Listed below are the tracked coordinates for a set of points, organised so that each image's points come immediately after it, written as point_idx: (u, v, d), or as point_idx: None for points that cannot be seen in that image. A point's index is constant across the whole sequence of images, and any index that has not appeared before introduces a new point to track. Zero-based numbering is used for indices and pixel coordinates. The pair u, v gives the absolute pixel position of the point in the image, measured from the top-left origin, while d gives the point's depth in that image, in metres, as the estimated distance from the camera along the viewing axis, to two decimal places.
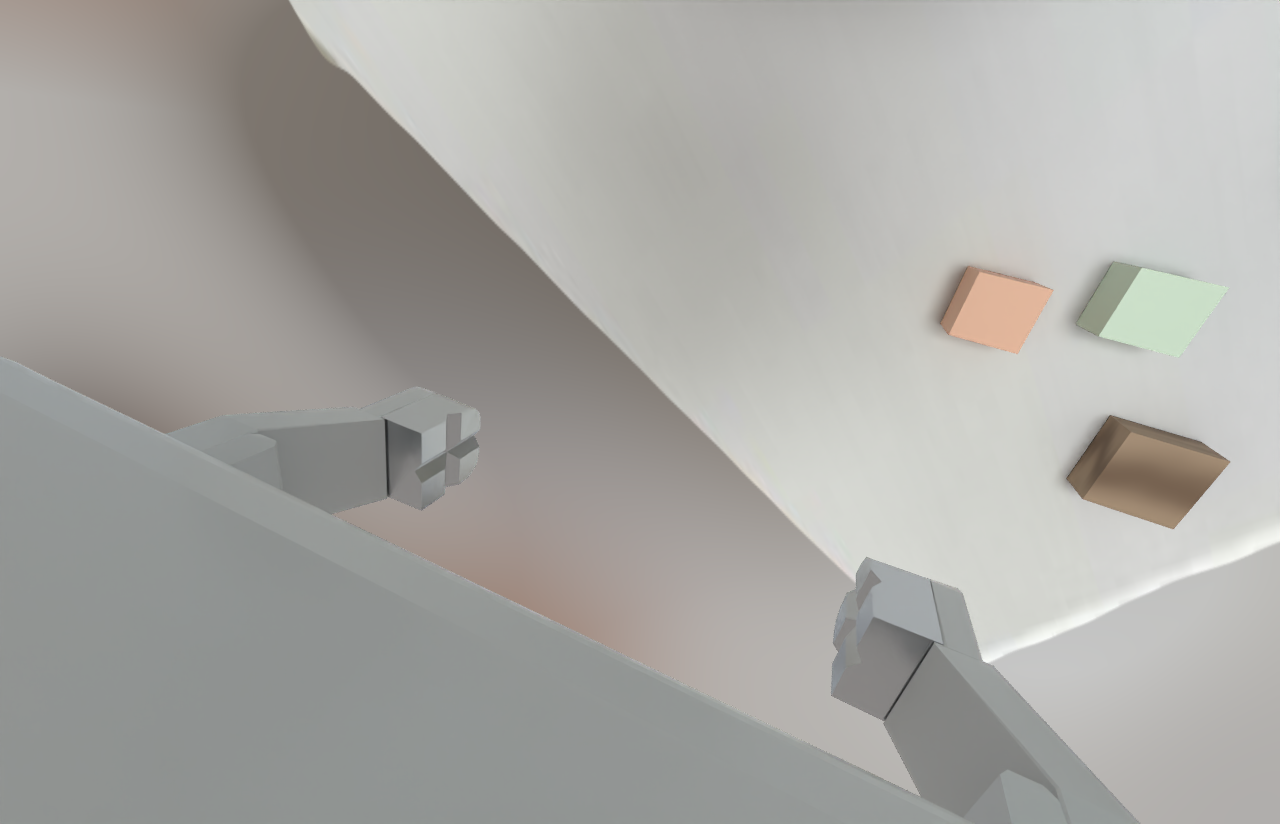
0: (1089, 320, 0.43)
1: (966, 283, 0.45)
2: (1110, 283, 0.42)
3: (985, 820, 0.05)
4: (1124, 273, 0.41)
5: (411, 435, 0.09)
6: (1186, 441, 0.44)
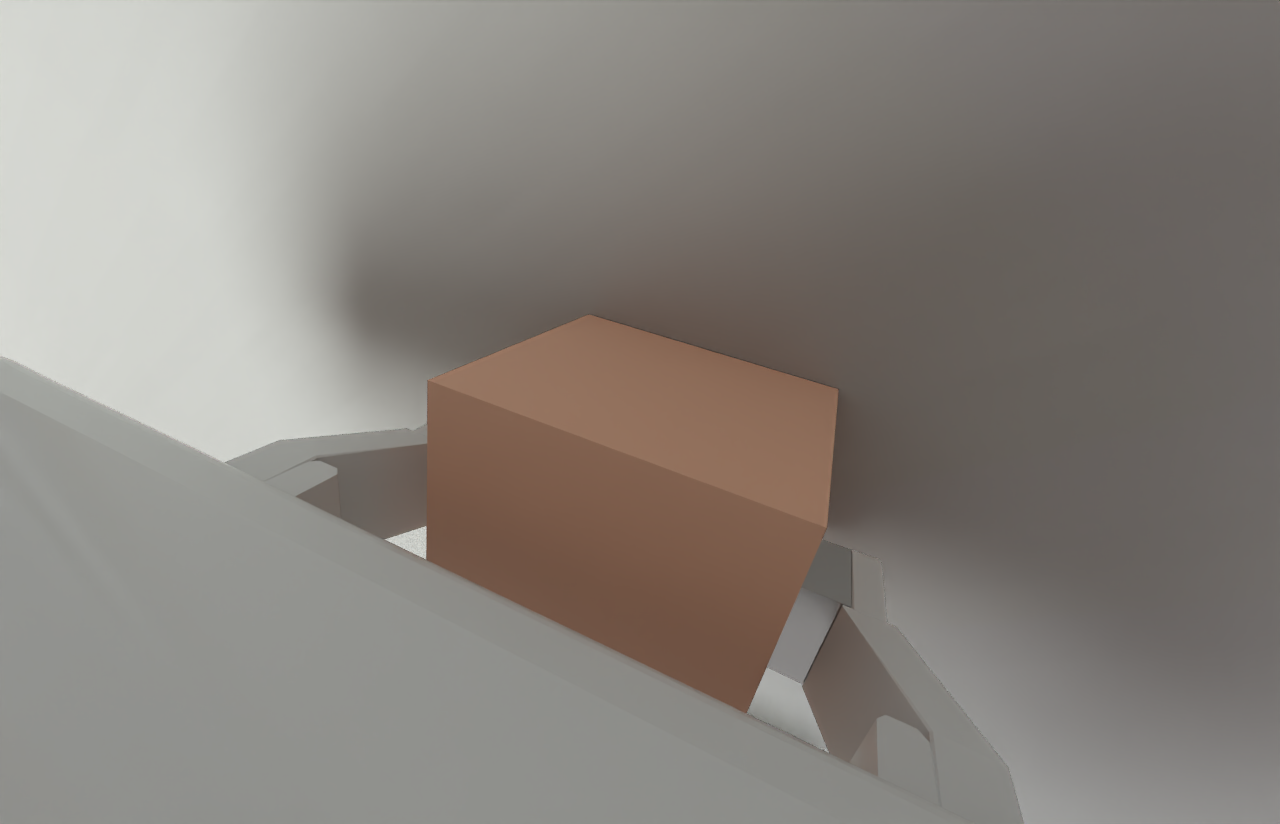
0: None
1: (752, 414, 0.08)
2: None
3: (862, 761, 0.06)
4: None
5: None
6: None
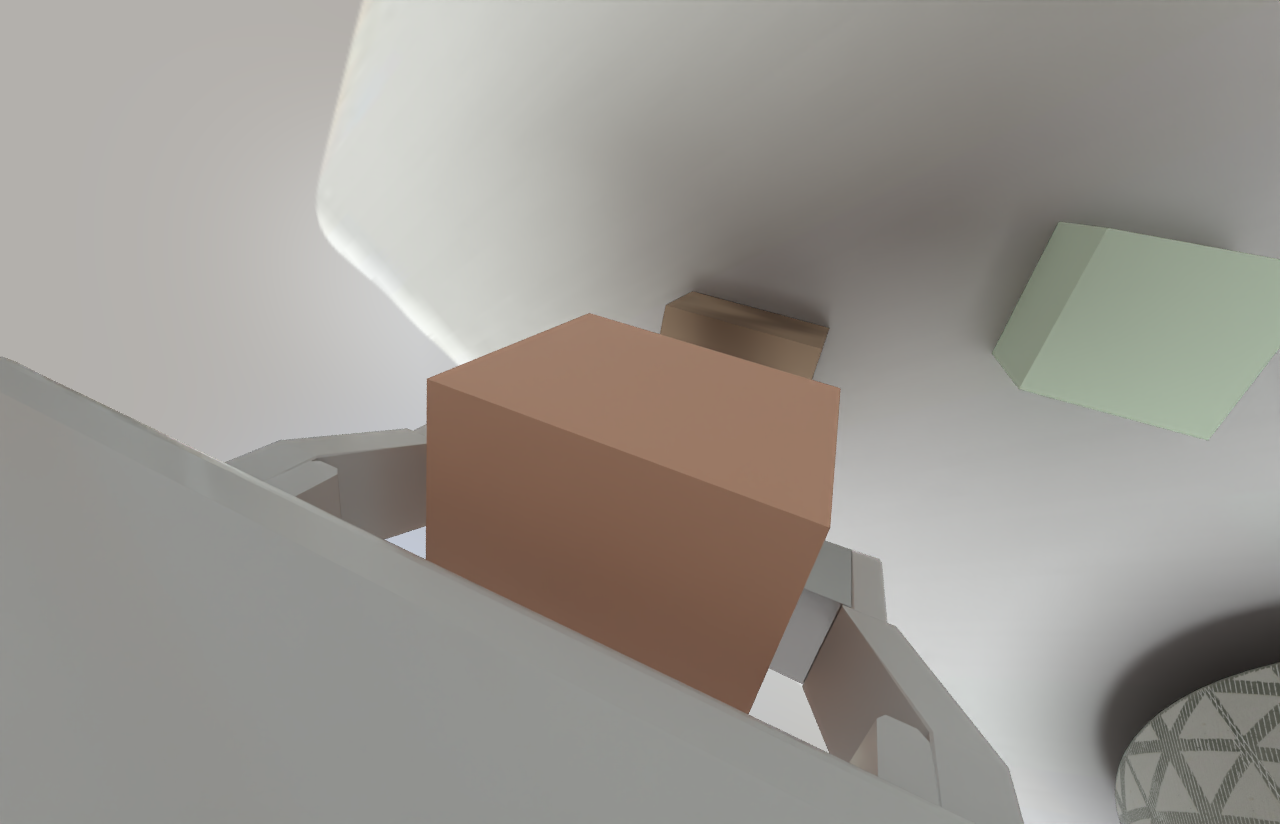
0: None
1: (753, 413, 0.08)
2: None
3: (862, 761, 0.06)
4: None
5: None
6: None
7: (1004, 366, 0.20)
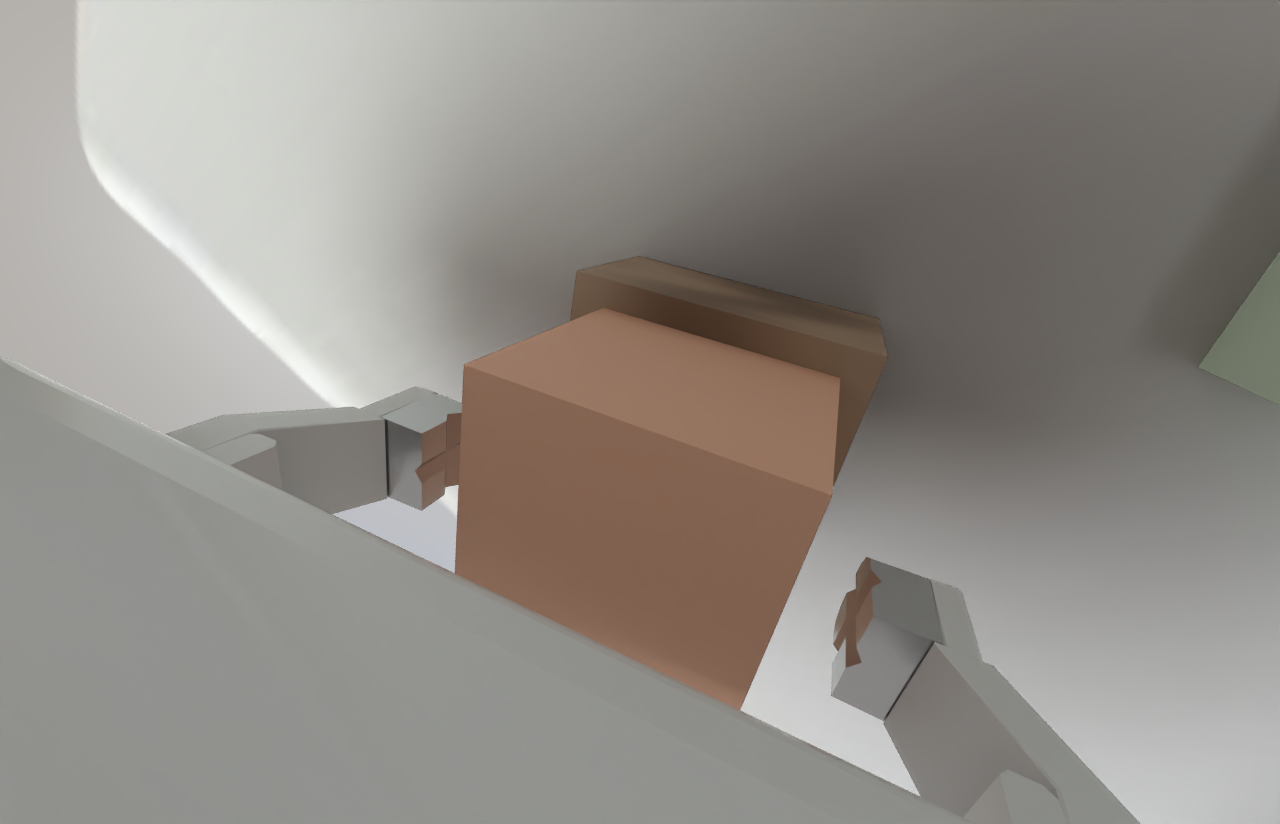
0: None
1: (760, 398, 0.09)
2: None
3: (985, 820, 0.05)
4: None
5: (411, 435, 0.09)
6: None
7: (1273, 396, 0.10)
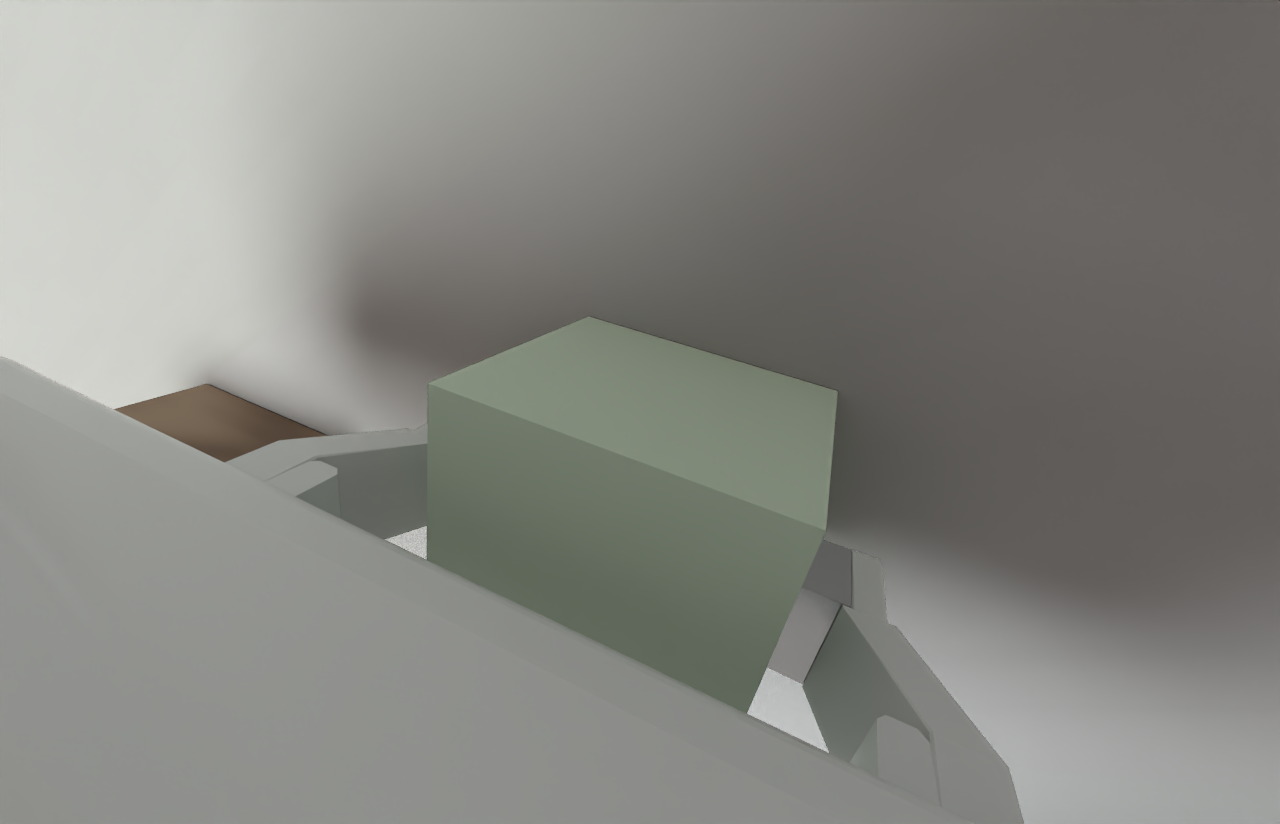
0: (574, 348, 0.09)
1: None
2: (742, 394, 0.09)
3: (862, 762, 0.06)
4: (787, 440, 0.08)
5: None
6: None
7: None
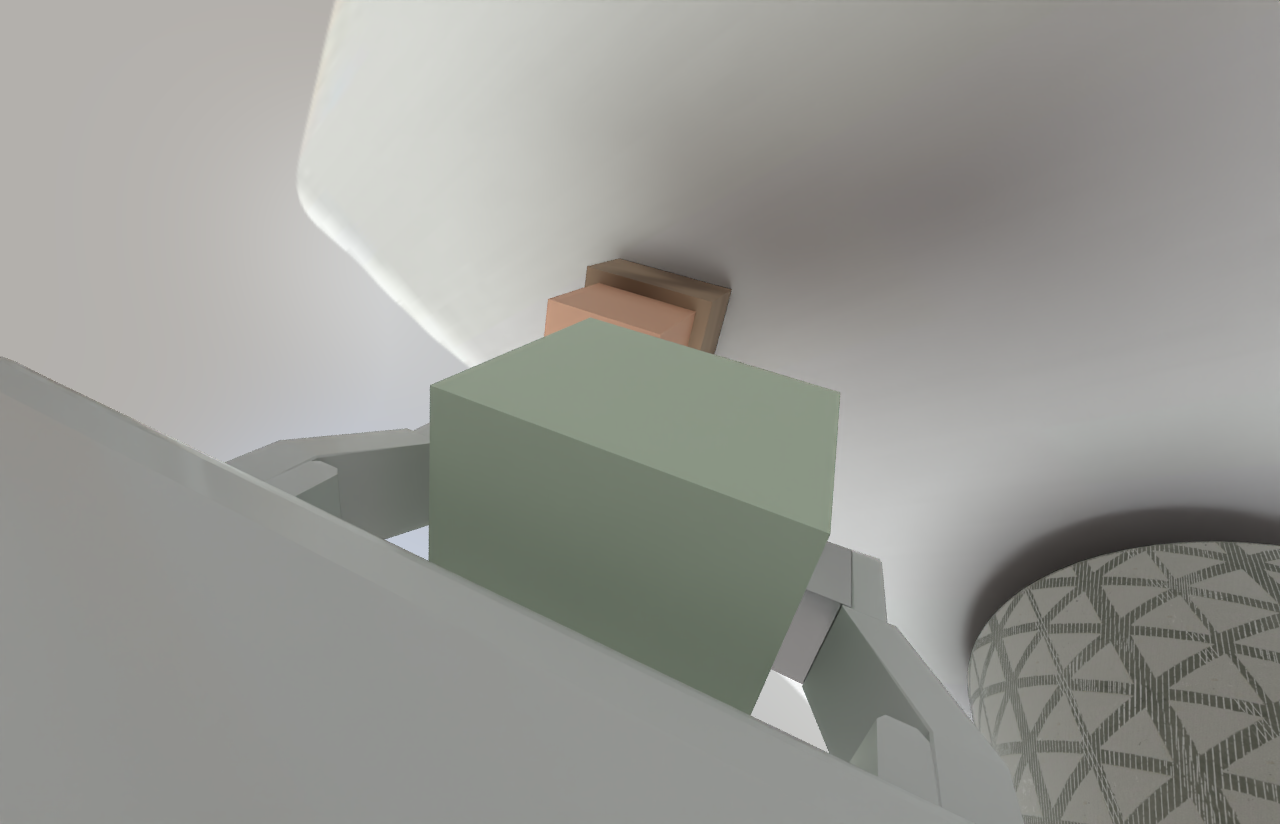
0: (576, 349, 0.09)
1: (653, 314, 0.24)
2: (744, 395, 0.09)
3: (862, 761, 0.06)
4: (790, 443, 0.08)
5: None
6: None
7: None
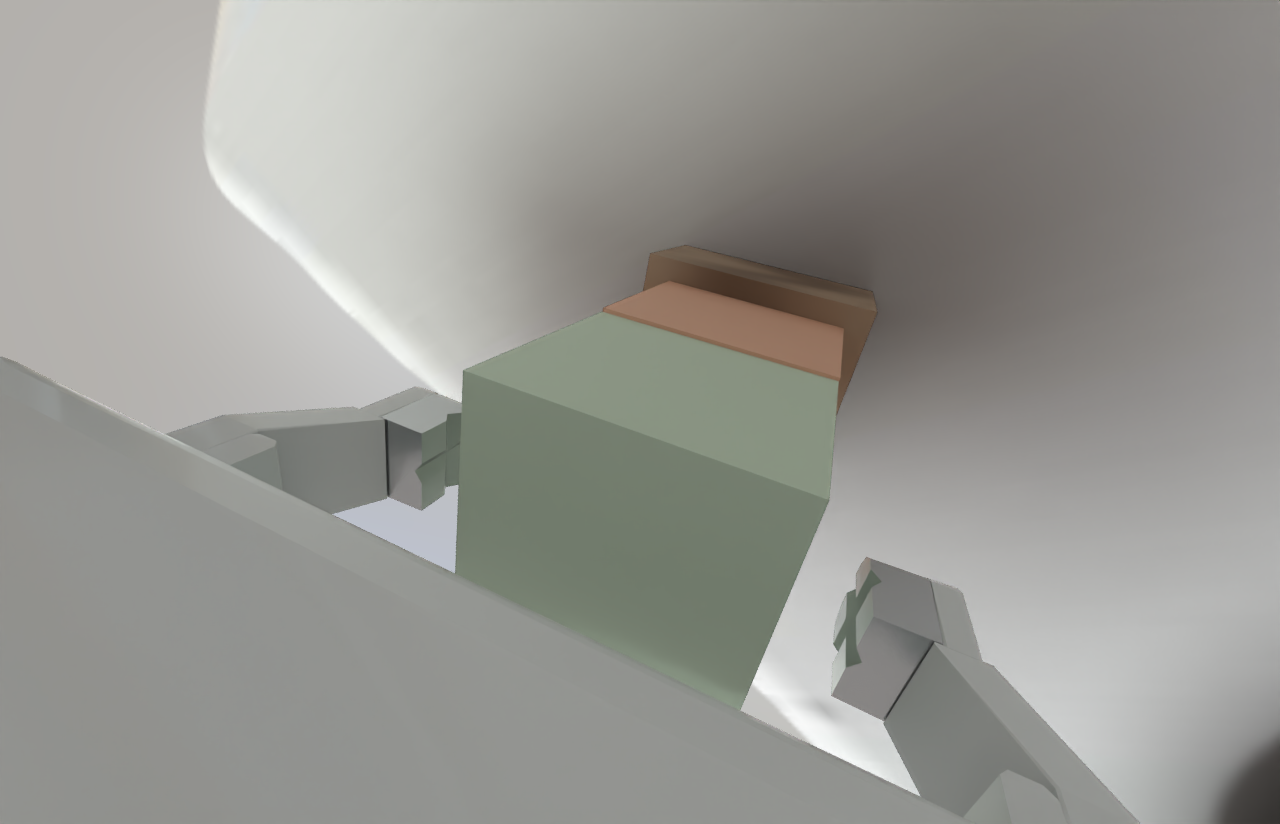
0: (592, 340, 0.10)
1: (791, 335, 0.13)
2: (749, 383, 0.10)
3: (985, 820, 0.05)
4: (793, 424, 0.08)
5: (412, 435, 0.09)
6: None
7: None
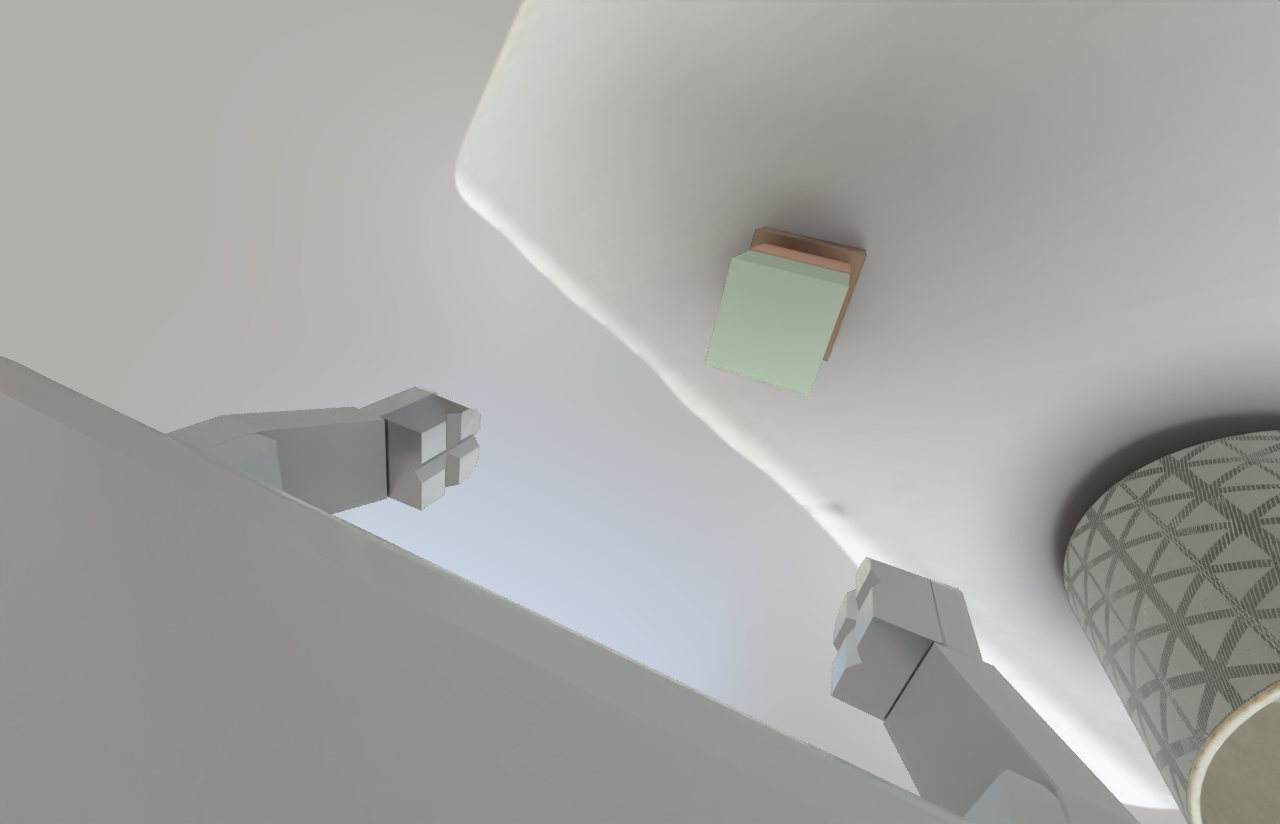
0: (757, 256, 0.27)
1: (828, 262, 0.30)
2: (817, 270, 0.26)
3: (985, 820, 0.05)
4: (835, 278, 0.25)
5: (411, 435, 0.09)
6: None
7: None
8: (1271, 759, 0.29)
